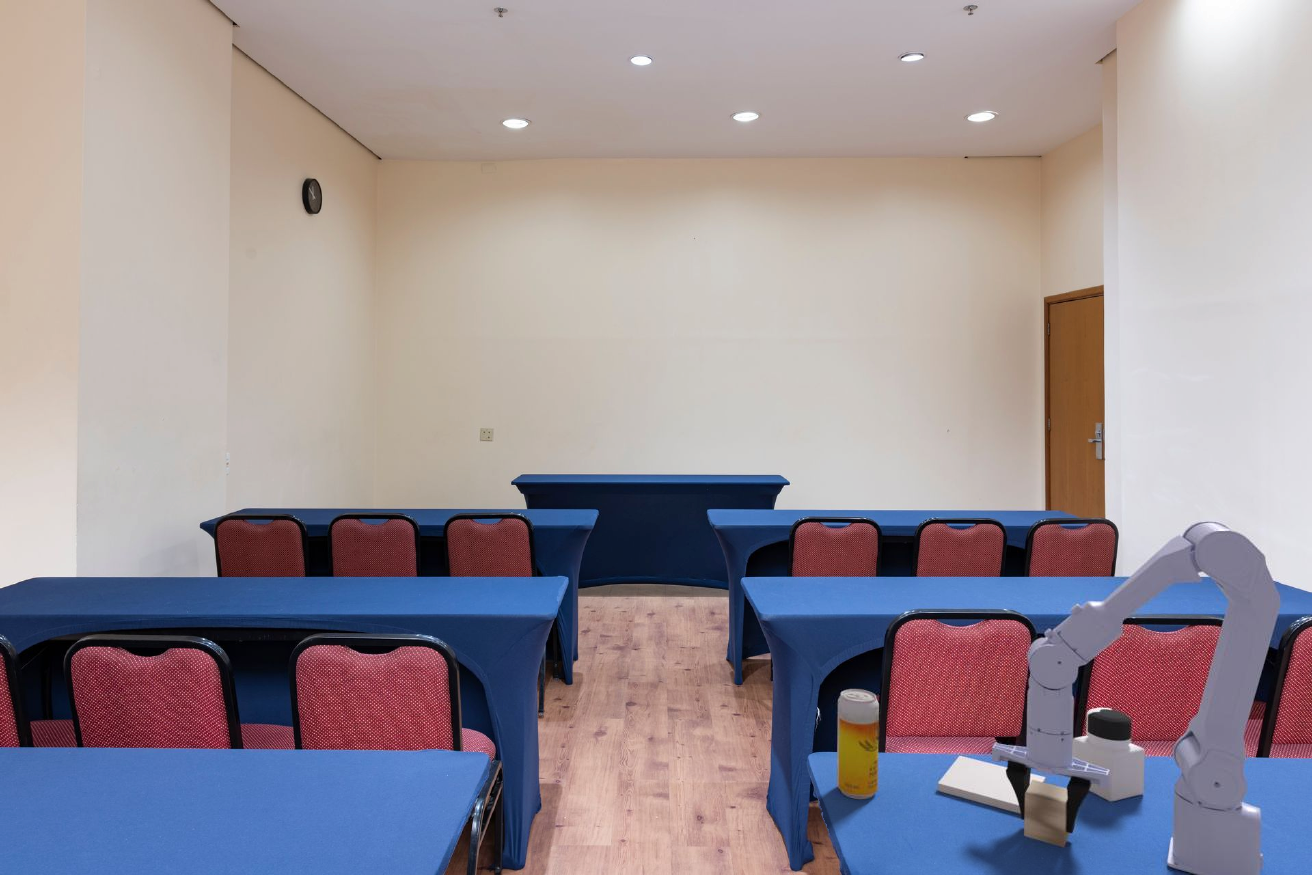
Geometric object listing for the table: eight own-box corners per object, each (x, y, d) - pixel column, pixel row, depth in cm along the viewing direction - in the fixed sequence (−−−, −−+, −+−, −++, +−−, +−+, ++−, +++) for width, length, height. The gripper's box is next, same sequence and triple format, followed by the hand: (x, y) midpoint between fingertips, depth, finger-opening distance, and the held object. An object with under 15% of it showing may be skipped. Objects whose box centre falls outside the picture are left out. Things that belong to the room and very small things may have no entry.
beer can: (879, 802, 119) (880, 703, 119) (837, 798, 121) (838, 700, 120) (876, 783, 125) (877, 689, 125) (836, 780, 126) (837, 686, 126)
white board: (1045, 784, 125) (1045, 776, 125) (1029, 816, 115) (1029, 807, 115) (959, 762, 133) (959, 755, 133) (937, 790, 123) (937, 782, 123)
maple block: (1070, 831, 111) (1071, 789, 111) (1064, 847, 107) (1065, 803, 107) (1031, 820, 114) (1032, 779, 114) (1024, 835, 110) (1024, 793, 110)
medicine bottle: (1144, 794, 122) (1146, 717, 122) (1111, 802, 120) (1113, 723, 119) (1103, 774, 129) (1105, 701, 128) (1070, 781, 126) (1072, 707, 126)
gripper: (987, 723, 111) (985, 819, 112) (1105, 750, 103) (1103, 853, 103) (999, 708, 117) (997, 799, 118) (1112, 732, 109) (1110, 830, 109)
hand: (1047, 823), depth 111 cm, fingers open, 5 cm apart
